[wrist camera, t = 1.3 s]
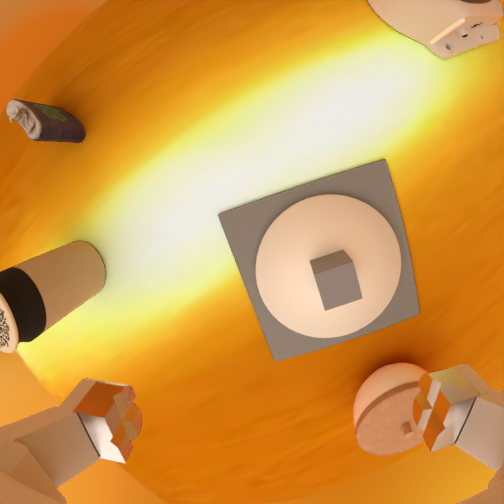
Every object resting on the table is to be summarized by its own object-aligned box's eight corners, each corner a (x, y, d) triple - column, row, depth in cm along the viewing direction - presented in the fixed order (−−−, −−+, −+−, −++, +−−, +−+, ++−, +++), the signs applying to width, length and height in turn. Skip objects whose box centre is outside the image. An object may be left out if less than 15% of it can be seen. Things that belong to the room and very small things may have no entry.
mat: (384, 159, 31) (385, 159, 31) (418, 312, 35) (419, 314, 35) (218, 214, 35) (217, 214, 34) (275, 360, 39) (275, 361, 38)
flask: (45, 118, 33) (-7, 111, 23) (54, 100, 33) (3, 89, 22) (80, 147, 34) (25, 144, 24) (90, 128, 33) (37, 119, 23)
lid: (377, 175, 31) (396, 175, 26) (408, 308, 35) (426, 329, 29) (234, 223, 34) (225, 232, 29) (282, 349, 38) (282, 377, 32)
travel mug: (115, 264, 37) (22, 321, 20) (94, 305, 39) (13, 369, 22) (75, 229, 37) (-25, 264, 20) (57, 271, 39) (-30, 318, 21)
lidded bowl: (407, 412, 39) (427, 460, 29) (335, 413, 40) (345, 468, 30) (437, 348, 36) (471, 393, 26) (359, 344, 37) (380, 398, 26)
